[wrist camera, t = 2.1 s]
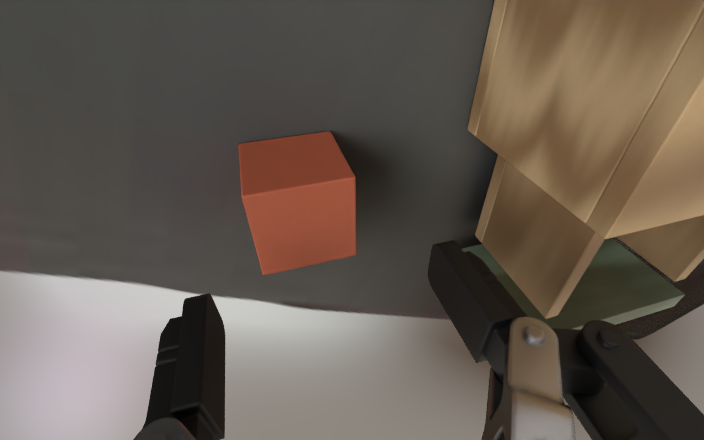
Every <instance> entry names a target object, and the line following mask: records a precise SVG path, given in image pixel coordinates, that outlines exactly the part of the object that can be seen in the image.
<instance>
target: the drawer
mask: <svg viewBox="0 0 704 440" xmlns="http://www.w3.org/2000/svg"><path fill="white" fill-rule="evenodd" d="M475 236H476V237H477V239H478V240H479V241H480V242H481V243H482V244H480V245H476V246H471V247H467V248H463V249H462V250H463V252H467V251H470V252H472V253H473V254H475V255H476V256H478V257H479V258H481V259H482V260H483V261H484V262H485V264H486V265H487V266H488V267H489V269H490V271H491V272H493V274H494V275H495V276H496V277H497V280H498V281H500V282H501V284H502V285H503V286H504V287H505V289H506V290H507V291H508V292H509V294H510V295H511V296H512V297H513V299H514V300H515V301H516V302H517V304H518V305H519V306H520V307H521V309H522V310H523V311H524V312H525V313H526V314H527V315H528V316H529V317H533V318H536V319H539V320H541V321H543V322H544V323H546V324H547V325H548V326H550V327H551V328H557V329H577V330H581V329H582V328H583V326H584V325H585V324H586V323H587V322H588V321H591V320H602V321H606V322H609V323H612V324H614V325H615V324H619V323H622V322H625V321H628V320H632V319H635V318H638V317H641V316H644V315H648V314H651V313H654V312H657V311H661V310H664V309H667V308H670V307H674V306H675V305H676V304H677V303H678V301H679V300H680V299H681V298H682V297H683V296H684V295H685V294H683V293H682V292H681V291H680V290H678V289H677V288H676V287H674V286H673V285H672V284H671V283H669V282H668V281H667V280H665V279H664V278H663V277H662V276H660V275H659V274H658V273H656V272H655V271H654V270H653V269H651V268H650V267H649V266H647V265H646V264H645V263H643V262H642V261H641V260H640V259H638V258H637V257H636V256H634V255H633V254H632V253H631V252H629V251H628V250H627V249H625V248H624V247H623V246H622V245H620V244H619V243H618V242H616V241H615V240H614V239H613V238H609V239H604V238H603V237H601V236H600V235H599V234H598V233H596V232H595V231H594V230H592V229H591V228H590V227H589V226H587V224H586V223H584V222H583V221H581V220H580V219H579V218H578V217H576V216H575V215H574V214H573V213H571V212H570V211H569V210H567V209H566V208H565V207H564V206H562V205H561V204H560V203H559V202H557V201H556V200H555V199H554V198H552V197H551V196H550V195H549V194H547V193H546V192H545V191H543V190H542V189H541V188H540V187H538V186H537V185H536V184H535V183H533V182H532V181H531V180H530V179H528V178H527V177H526V176H525V175H523V174H522V173H521V172H520V171H518V170H517V169H516V168H514V167H513V166H512V165H511V164H509V163H508V162H507V161H506V160H504V159H503V158H502V157H501V156H499V155H498V156H497V160H496V163H495V167H494V170H493V174H492V177H491V181H490V184H489V188H488V191H487V195H486V198H485V202H484V205H483V209H482V212H481V216H480V219H479V223H478V226H477V230H476V233H475ZM617 238H618V239H619V240H621V241H622V242H623V243H625V244H626V245H627V246H629V247H630V248H631V249H633V250H634V251H635V252H637V253H638V254H639V255H640V256H642V257H643V258H644V259H646V260H647V261H648V262H650V263H651V264H652V265H654V266H655V267H656V268H657V269H659V270H660V271H661V272H663V273H664V274H665V275H667V276H668V277H669V278H671V279H672V280H673V281H679V280H682V279H685V278H686V277H687V276H688V275H689V274H690V273H691V272H692V271H693V270H694V268H695V267H696V266H697V265H698V264H699V263H700V262H701V261H702V260H703V259H704V215H702V216H698V217H694V218H690V219H686V220H682V221H678V222H674V223H670V224H666V225H661V226H657V227H653V228H649V229H645V230H641V231H637V232H633V233H629V234H625V235H621V236H617Z"/></svg>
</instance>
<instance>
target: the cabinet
mask: <svg viewBox="0 0 704 440" xmlns="http://www.w3.org/2000/svg"><path fill="white" fill-rule="evenodd" d="M467 129H468V131H469V132H471V133H472V134H473V135H474V136H476V137H477V138H478V139H479V140H480V141H482V142H483V143H484V144H485V145H487V146H488V147H489V148H491V149H492V150H493V151H494V152H496V153H497V154H498V155H499V156H501V157H502V158H503V159H504V160H506V161H507V162H508V163H509V164H511V165H512V166H513V167H514V168H516V169H517V170H518V171H520V172H521V173H522V174H523V175H525V176H526V177H527V178H528V179H530V180H531V181H532V182H533V183H535V184H536V185H537V186H538V187H540V188H541V189H542V190H543V191H545V192H546V193H547V194H549V195H550V196H551V197H552V198H554V199H555V200H556V201H557V202H559V203H560V204H561V205H562V206H564V207H565V208H566V209H567V210H569V211H570V212H571V213H573V214H574V215H575V216H576V217H578V218H579V219H580V220H581V221H583V222H584V223H586V224H587V226H589V227H590V228H591V229H592V230H594V231H595V232H596V233H598V234H599V235H600V236H601V237H603V238H604V239H609V238H613V237H617V236H621V235H625V234H629V233H633V232H637V231H641V230H645V229H649V228H653V227H657V226H661V225H666V224H670V223H674V222H678V221H682V220H686V219H690V218H694V217H698V216H702V215H704V0H495V1H494V6H493V11H492V15H491V20H490V25H489V29H488V34H487V39H486V44H485V48H484V53H483V58H482V62H481V67H480V72H479V77H478V81H477V86H476V91H475V95H474V100H473V105H472V110H471V114H470V119H469V124H468V128H467Z"/></svg>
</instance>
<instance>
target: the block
mask: <svg viewBox="0 0 704 440" xmlns="http://www.w3.org/2000/svg"><path fill="white" fill-rule="evenodd" d="M238 150H239V164H240V179H241V194H242V200H243V204H244V207H245V211H246V215H247V218H248V222H249V226H250V230H251V233H252V237H253V241H254V244H255V248H256V252H257V255H258V259H259V263H260V266H261V270H262V274H263V275H267V274H272V273H277V272H281V271H286V270H290V269H295V268H300V267H304V266H309V265H313V264H318V263H323V262H327V261H332V260H336V259H341V258H346V257H350V256H355V255H356V177H355V175H354V174H353V172H352V170H351V168H350V166H349V165H348V163H347V161H346V159H345V157H344V155H343V154H342V152H341V150H340V148H339V146H338V144H337V143H336V141H335V139H334V137H333V135H332V133H331V132H330V131H327V132H320V133H313V134H306V135H298V136H291V137H284V138H277V139H270V140H262V141H255V142H248V143H241V144H239V145H238Z"/></svg>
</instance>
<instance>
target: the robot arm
mask: <svg viewBox="0 0 704 440" xmlns="http://www.w3.org/2000/svg"><path fill="white" fill-rule="evenodd" d="M428 278H429V282H430V285H431V287H432V289H433V290H434V292H435V294H436V295H437V297H438V299H439V301H440V302H441V304H442V306H443V307H444V309H445V311H446V312H447V314H448V316H449V317H450V319H451V321H452V322H453V324H454V326H455V328H456V329H457V331H458V333H459V334H460V336H461V338H462V339H463V341H464V343H465V345H466V346H467V348H468V350H469V351H470V353H471V354H472V356H473V358H474V360H475V361H476V363H478V362H482V361H485V360H488V362H489V364H490V365H491V369H490V378H489V390H488V401H487V412H486V423H485V428H484V432H483V436H482V440H576V438H575V426H574V417H573V413H572V411H573V412H574V413H575V415H576V416H577V418H578V419H579V421H580V422H581V424H582V425H583V427H584V428H585V430H586V431H587V433H588V434H589V435H590V437H591V439H592V440H704V415H703V414H702V413H701V412H700V411H699V409H698V408H697V407H695V405H694V404H693V403H692V402H691V401H690V400H689V399H688V398H687V397H686V396H685V395H684V394H683V392H682V391H681V390H680V389H679V388H678V387H677V386H676V385H675V384H674V383H673V382H672V381H671V380H670V379H669V378H668V377H667V376H666V375H665V374H664V372H663V371H662V370H661V369H660V368H659V367H658V366H657V365H656V364H655V363H654V362H653V361H652V360H651V359H650V358H649V357H648V356H647V354H646V353H645V352H644V351H643V350H642V349H641V348H640V347H639V346H638V345H637V344H636V343H635V342H634V341H633V340H632V339H631V338H630V336H629V335H628V334H627V333H626V332H624V331H623V330H622V329H621V328H619V327H617V326H616V325H614V324H612V323H609V322H606V321H602V320H591V321H588V322H587V323H586V324H585V325H584V326H583V328H582V329H581V330H577V329H557V328H551V327H550V326H548V325H547V324H546V323H544V322H543V321H541V320H539V319H536V318H533V317H529V316H528V315H527V314H526V313H525V312H524V311H523V310H522V309H521V307H520V306H519V305H518V304H517V302H516V301H515V300H514V299H513V297H512V296H511V295H510V294H509V292H508V291H507V290H506V289H505V287H504V286H503V285H502V284H501V282H500V281H498V280H497V277H496V276H495V275H494V274H493V272H491V271H490V269H489V267H488V266H487V265H486V264H485V262H484V261H483V260H482V259H481V258H479V257H478V256H476V255H475V254H473V253H472V252H470V251H467V252H463V250H462V249H461V248H460V247H459V245H458V244H457V243H456V242H455V241H453V240H451V241H447V242H442V243H438V244H434V245H433V246H432V251H431V257H430V263H429V268H428ZM563 397H564V399H565V400H566V402H567V403H568V405H569V406H570V407H569V406H567V405H565V404H564V402H563ZM571 409H572V410H571ZM224 425H225V330H224V325H223V321H222V318H221V316H220V314H219V312H218V309H217V307H216V305H215V303H214V301H213V298H212V296H211V295H210V294H204V295H200V296H195V297H191V298H186V299H185V300H184V304H183V312H182V316H181V317H177V318H172V319H170V320H169V322H168V323H167V325H166V327H165V328H164V330H163V332H162V333H161V336H160V342H159V348H158V354H157V360H156V367H155V371H154V377H153V383H152V389H151V394H150V400H149V406H148V412H147V417H146V421H145V424H144V426H143V429H142V430H141V431H140V432H139V433H138V434H137V436H136V437H135V438H134V440H220V439H223V438H224V432H225V431H224V430H225V426H224Z"/></svg>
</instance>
